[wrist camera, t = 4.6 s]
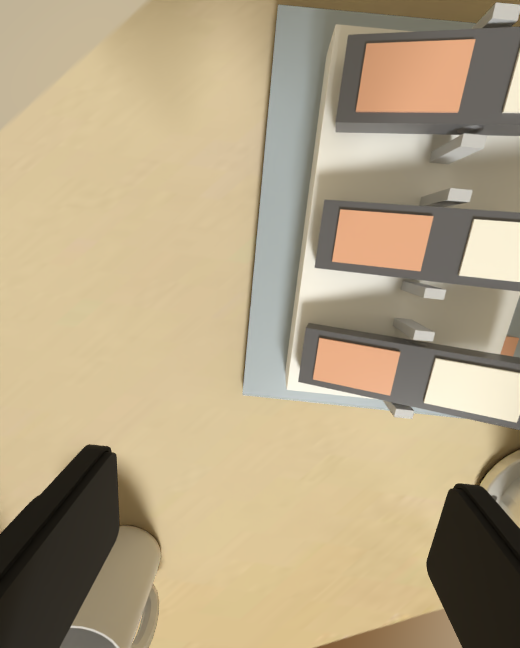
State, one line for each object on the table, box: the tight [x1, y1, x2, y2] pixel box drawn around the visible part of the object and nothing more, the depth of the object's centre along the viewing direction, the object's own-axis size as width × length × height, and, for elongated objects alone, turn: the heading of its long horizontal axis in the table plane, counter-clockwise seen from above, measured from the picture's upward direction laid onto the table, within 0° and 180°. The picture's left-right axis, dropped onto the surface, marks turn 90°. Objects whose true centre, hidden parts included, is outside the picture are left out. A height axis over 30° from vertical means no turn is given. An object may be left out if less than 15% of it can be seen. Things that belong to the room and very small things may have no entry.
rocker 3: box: [298, 323, 520, 430], centre depth 19 cm, size 14×4×2 cm, turn 85°
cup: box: [60, 525, 161, 648], centre depth 29 cm, size 7×10×9 cm
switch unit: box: [243, 3, 520, 419], centre depth 20 cm, size 24×28×7 cm
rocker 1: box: [335, 27, 520, 136], centre depth 15 cm, size 14×4×2 cm, turn 85°
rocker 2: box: [315, 200, 520, 292], centre depth 17 cm, size 14×4×2 cm, turn 85°
